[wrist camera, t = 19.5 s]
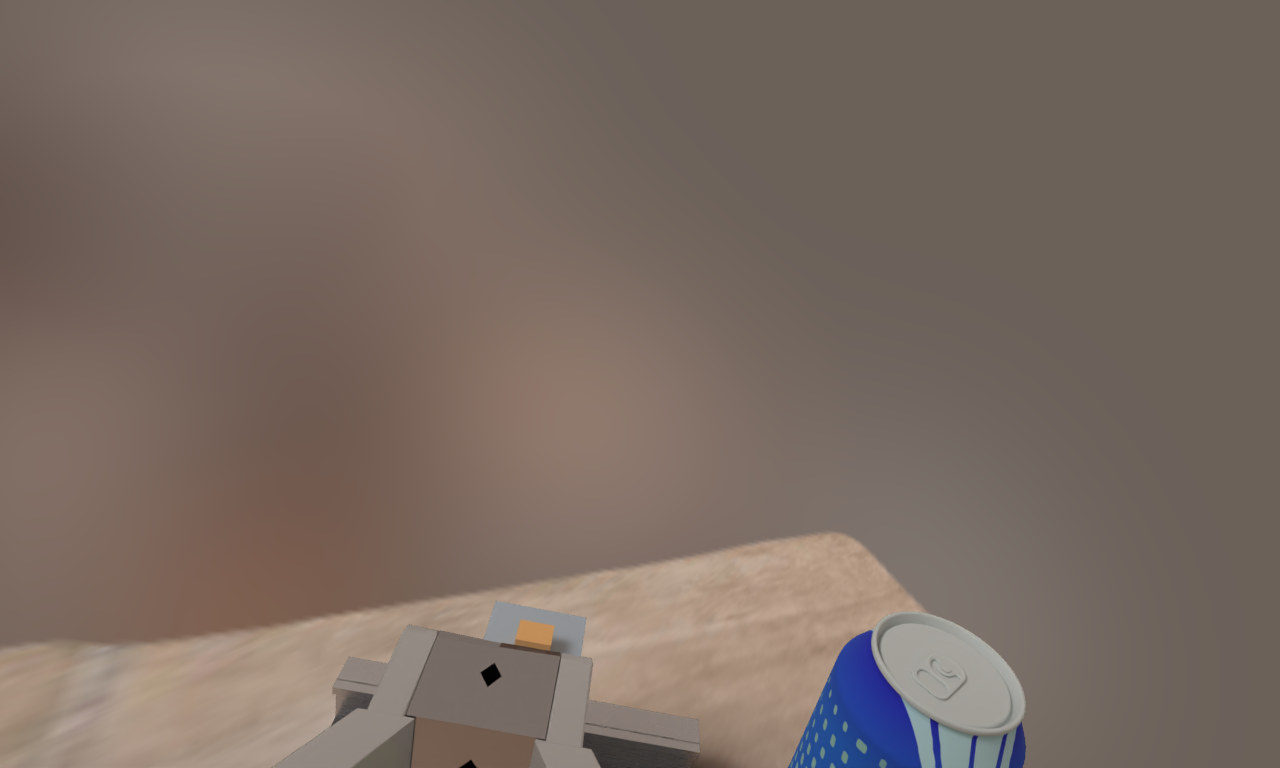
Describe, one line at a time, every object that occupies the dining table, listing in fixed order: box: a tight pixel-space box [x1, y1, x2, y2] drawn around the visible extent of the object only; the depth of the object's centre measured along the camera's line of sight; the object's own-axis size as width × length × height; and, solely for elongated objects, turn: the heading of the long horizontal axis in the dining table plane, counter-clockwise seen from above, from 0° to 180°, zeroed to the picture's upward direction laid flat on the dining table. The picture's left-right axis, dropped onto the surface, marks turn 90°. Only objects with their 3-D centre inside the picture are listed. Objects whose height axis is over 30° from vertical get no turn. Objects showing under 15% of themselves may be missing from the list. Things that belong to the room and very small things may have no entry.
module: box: [484, 601, 586, 656], centre depth 35 cm, size 4×5×12 cm
